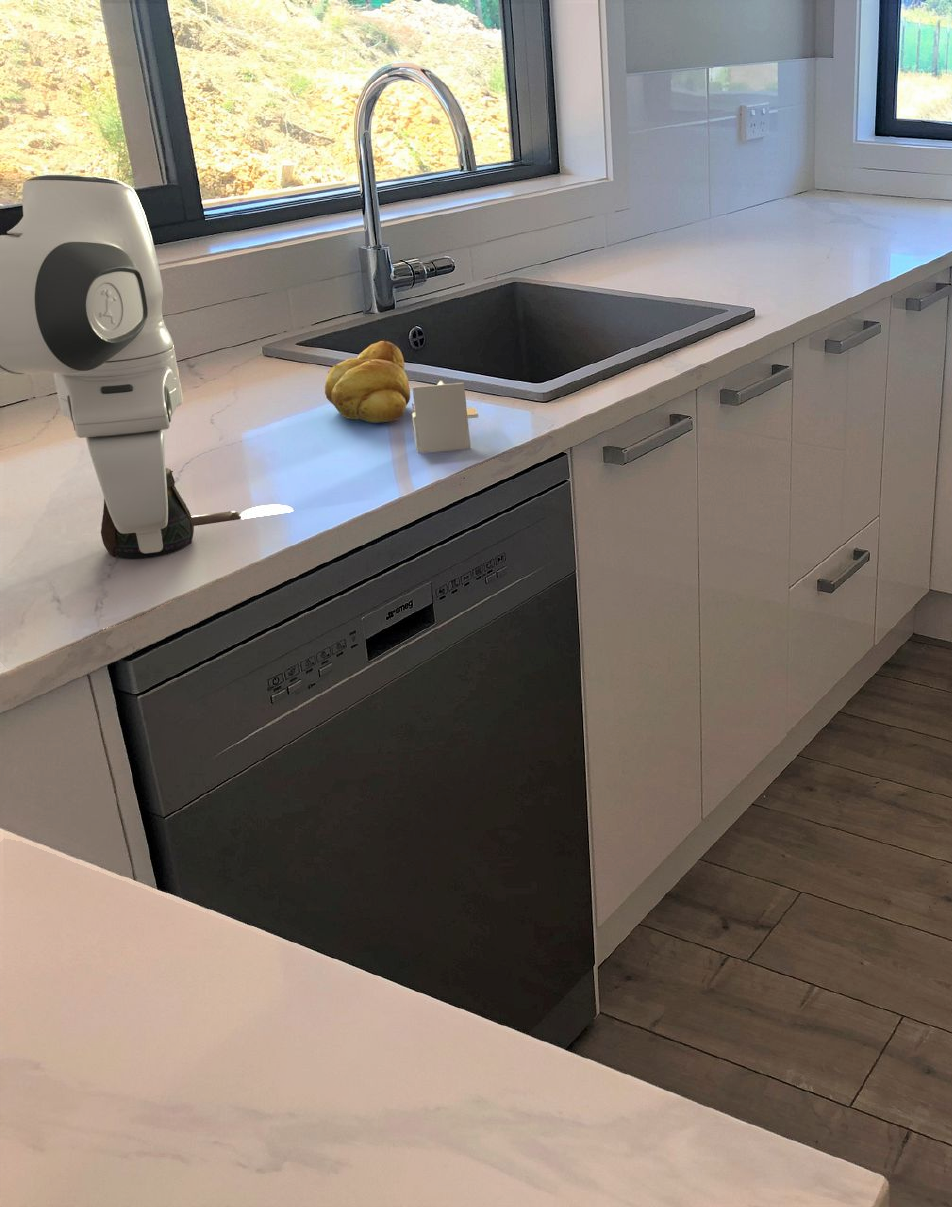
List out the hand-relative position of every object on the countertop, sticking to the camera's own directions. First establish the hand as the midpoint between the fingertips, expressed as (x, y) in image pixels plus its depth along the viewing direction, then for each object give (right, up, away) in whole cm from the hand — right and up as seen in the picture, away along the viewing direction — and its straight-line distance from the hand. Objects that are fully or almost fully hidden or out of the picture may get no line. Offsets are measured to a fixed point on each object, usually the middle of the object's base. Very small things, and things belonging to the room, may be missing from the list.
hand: (152, 547), depth 110 cm
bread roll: (+3, +18, +49) cm, 52 cm away
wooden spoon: (0, +2, +13) cm, 13 cm away
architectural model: (+14, +13, +37) cm, 41 cm away
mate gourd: (-2, -1, +5) cm, 5 cm away
